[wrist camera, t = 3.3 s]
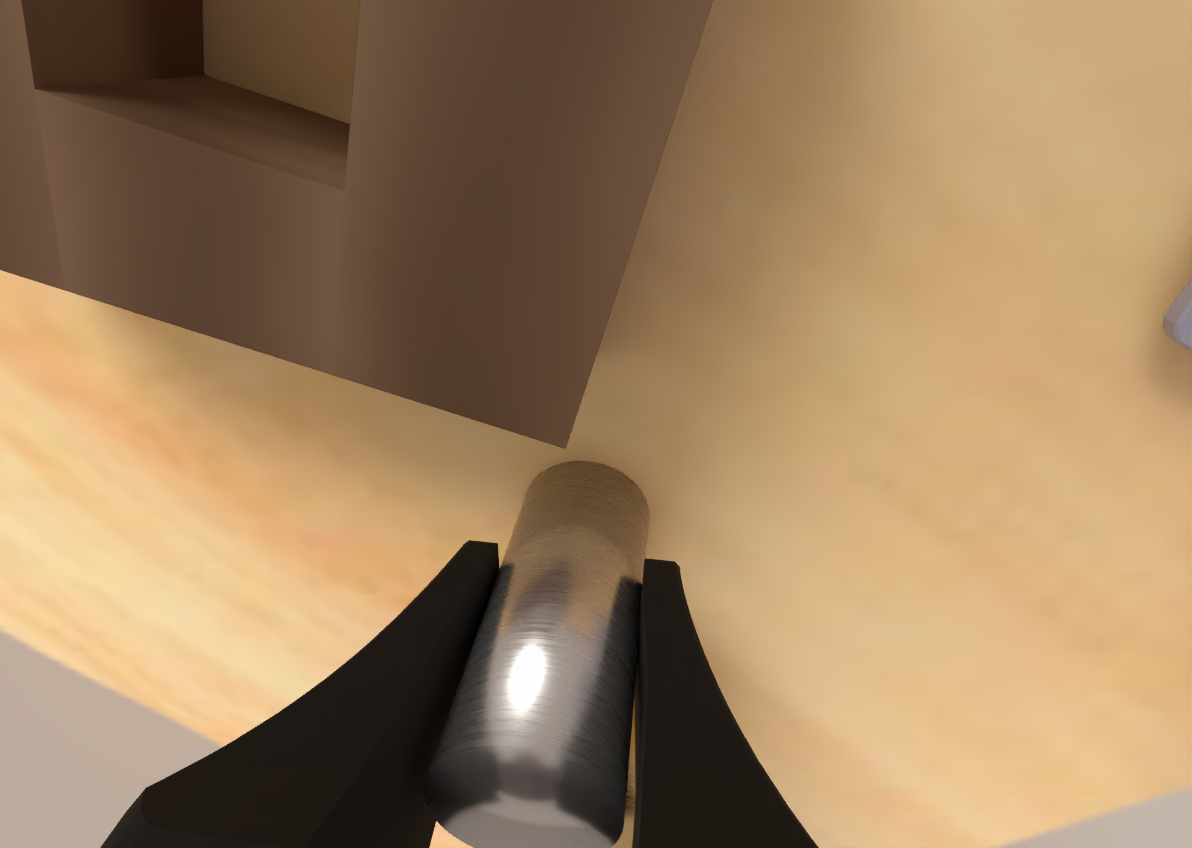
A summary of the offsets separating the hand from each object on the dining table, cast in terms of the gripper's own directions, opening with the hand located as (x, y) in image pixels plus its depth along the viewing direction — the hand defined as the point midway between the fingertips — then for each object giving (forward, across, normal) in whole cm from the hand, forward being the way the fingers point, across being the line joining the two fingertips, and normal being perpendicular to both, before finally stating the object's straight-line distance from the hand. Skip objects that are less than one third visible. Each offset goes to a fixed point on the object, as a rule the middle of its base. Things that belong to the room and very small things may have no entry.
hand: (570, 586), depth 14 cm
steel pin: (+2, 0, 0) cm, 2 cm away
